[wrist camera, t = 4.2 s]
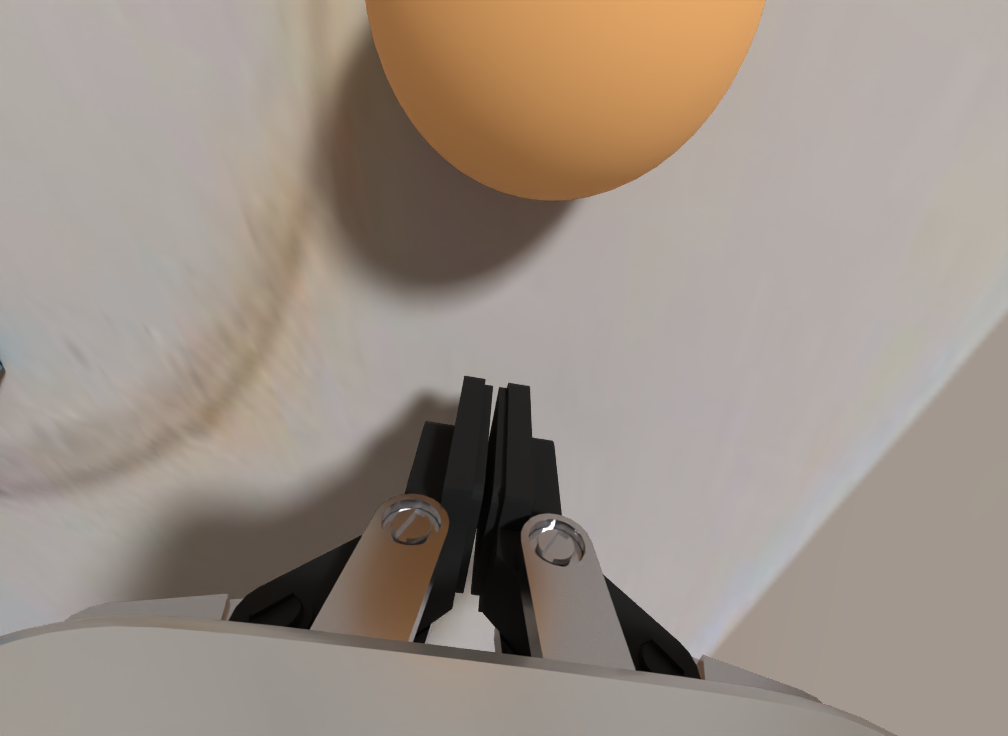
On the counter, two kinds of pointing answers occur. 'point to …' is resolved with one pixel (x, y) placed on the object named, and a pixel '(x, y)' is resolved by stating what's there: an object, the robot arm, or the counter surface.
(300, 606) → the robot arm
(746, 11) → the ball
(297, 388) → the counter surface
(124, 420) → the counter surface
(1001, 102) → the counter surface
